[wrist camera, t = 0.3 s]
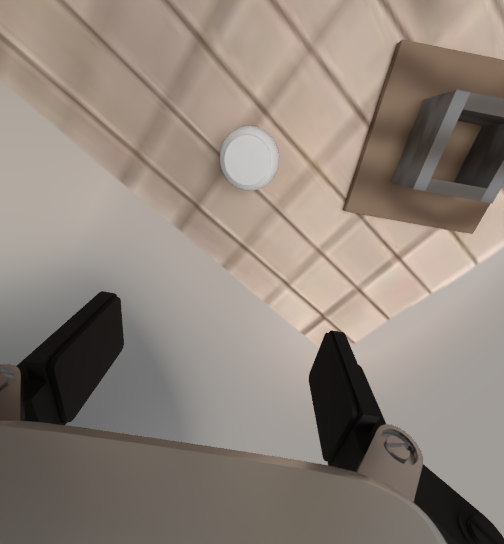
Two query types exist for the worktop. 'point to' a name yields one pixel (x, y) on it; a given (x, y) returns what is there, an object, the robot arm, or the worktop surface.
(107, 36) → the worktop surface
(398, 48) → the socket board
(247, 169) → the supplement bottle
